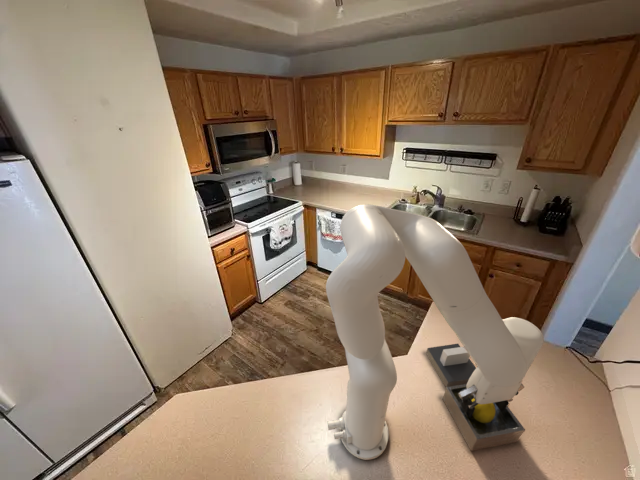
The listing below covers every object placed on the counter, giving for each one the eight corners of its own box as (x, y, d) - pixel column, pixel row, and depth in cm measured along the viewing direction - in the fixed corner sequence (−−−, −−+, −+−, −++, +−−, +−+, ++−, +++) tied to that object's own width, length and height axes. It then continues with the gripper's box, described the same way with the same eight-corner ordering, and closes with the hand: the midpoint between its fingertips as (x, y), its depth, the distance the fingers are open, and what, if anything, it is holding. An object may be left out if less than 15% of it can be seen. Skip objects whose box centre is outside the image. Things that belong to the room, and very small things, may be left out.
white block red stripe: (443, 366, 80) (447, 355, 77) (439, 360, 82) (443, 349, 79) (467, 362, 81) (471, 351, 78) (463, 356, 83) (467, 345, 80)
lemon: (471, 402, 72) (479, 385, 69) (493, 418, 69) (503, 401, 65) (462, 416, 69) (470, 399, 66) (484, 434, 66) (494, 417, 62)
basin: (470, 450, 63) (477, 439, 60) (442, 399, 74) (446, 387, 71) (517, 441, 65) (525, 429, 62) (482, 392, 76) (488, 380, 73)
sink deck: (446, 388, 77) (448, 382, 75) (425, 353, 87) (427, 347, 86) (479, 382, 78) (482, 376, 77) (456, 349, 88) (458, 343, 87)
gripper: (524, 346, 63) (501, 389, 71) (458, 356, 61) (443, 399, 69) (553, 375, 56) (524, 418, 65) (480, 387, 54) (460, 430, 63)
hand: (482, 408), depth 67 cm, fingers open, 8 cm apart
